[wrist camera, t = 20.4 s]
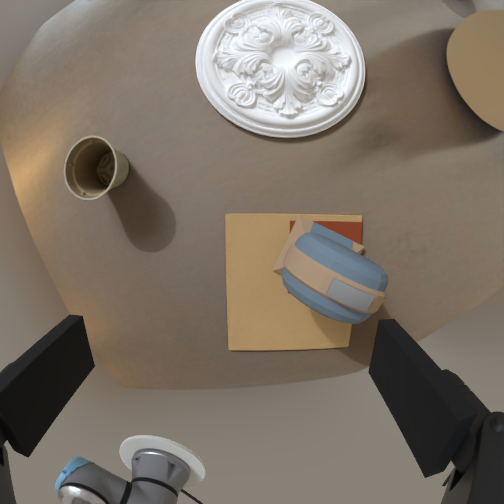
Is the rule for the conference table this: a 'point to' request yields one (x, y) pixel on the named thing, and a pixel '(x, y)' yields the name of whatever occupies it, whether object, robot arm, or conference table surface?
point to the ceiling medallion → (280, 67)
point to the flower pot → (94, 168)
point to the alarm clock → (330, 273)
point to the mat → (275, 286)
